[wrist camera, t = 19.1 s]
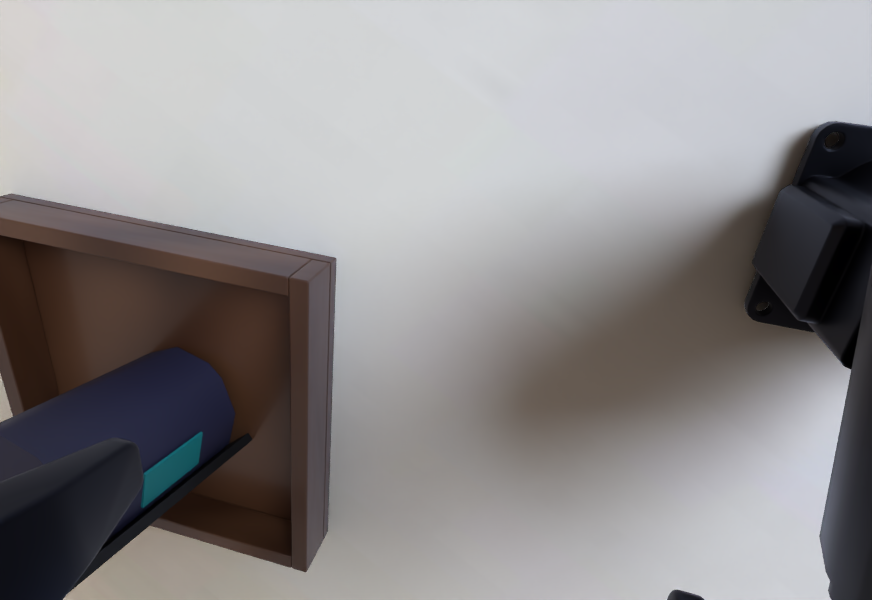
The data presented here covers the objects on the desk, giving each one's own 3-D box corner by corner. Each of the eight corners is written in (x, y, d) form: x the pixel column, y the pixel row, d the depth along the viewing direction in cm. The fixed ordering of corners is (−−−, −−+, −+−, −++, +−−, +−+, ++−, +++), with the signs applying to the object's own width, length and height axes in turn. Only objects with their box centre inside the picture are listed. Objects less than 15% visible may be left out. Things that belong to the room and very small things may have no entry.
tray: (336, 257, 22) (308, 281, 20) (328, 531, 29) (306, 573, 26) (10, 193, 24) (-49, 207, 22) (74, 458, 31) (34, 491, 29)
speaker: (276, 471, 26) (90, 669, 17) (188, 476, 29) (-21, 655, 19) (221, 327, 25) (-22, 462, 15) (130, 344, 27) (-131, 471, 17)
